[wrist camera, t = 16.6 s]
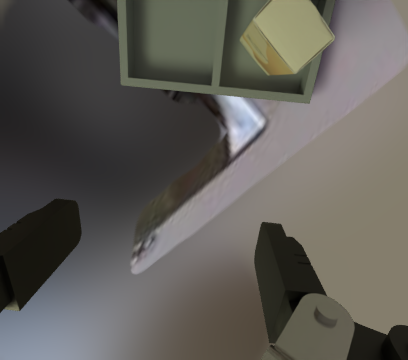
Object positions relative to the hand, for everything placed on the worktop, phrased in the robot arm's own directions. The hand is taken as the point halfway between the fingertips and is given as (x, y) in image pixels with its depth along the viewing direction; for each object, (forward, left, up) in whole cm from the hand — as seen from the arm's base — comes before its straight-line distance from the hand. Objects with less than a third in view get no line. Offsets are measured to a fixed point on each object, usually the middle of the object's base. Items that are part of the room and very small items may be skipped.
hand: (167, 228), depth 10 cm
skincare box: (+7, +11, -28) cm, 30 cm away
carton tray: (+1, +11, -28) cm, 30 cm away
